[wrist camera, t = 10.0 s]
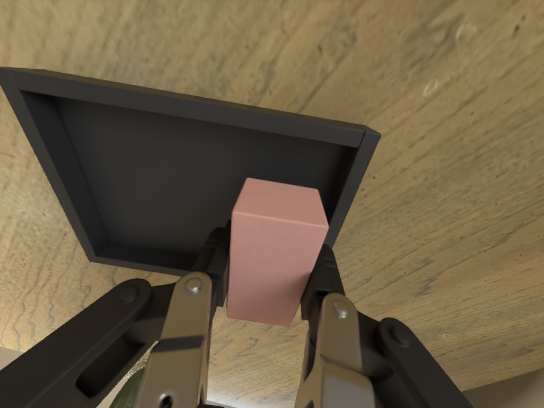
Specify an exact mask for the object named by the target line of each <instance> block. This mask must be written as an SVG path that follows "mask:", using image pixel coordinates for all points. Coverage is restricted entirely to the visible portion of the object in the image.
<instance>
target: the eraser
mask: <svg viewBox="0 0 544 408" xmlns="http://www.w3.org/2000/svg"><path fill="white" fill-rule="evenodd" d="M328 229H329V226H328V222H327V219H326V216H325V212H324V209H323V205H322V202H321V199H320V195H319V192H318V190H317V189H313V188H307V187H301V186H295V185H289V184H283V183H277V182H271V181H265V180H259V179H253V178H247V179H246V181H245V183H244V185H243V188H242V190H241V192H240V195H239V197H238V199H237V201H236V204H235V206H234V208H233V211H232V219H231V239H230V248H229V256H230V259H229V279H228V291H227V305H226V308H227V317H228V318H234V319H241V320H248V321H254V322H261V323H268V324H274V325H281V326H288V327H290V326H291V323H292V321H293V318H294V317H295V314H296V311H297V309H298V306H299V304H300V300H301V298H302V295H303V293H304V290H305V287H306V285H307V282H308V280H309V277H310V275H311V272H312V270H313V268H314V266H315V263H316V259H317V257H318V254H319V252H320V249H321V247H322V244H323V242H324V239H325V237H326V234H327V231H328Z"/></svg>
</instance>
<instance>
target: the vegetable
mask: <svg viewBox="0 0 544 408" xmlns="http://www.w3.org/2000/svg"><path fill="white" fill-rule="evenodd" d="M145 367H146V366H145ZM145 367H143V368H142V369H140V370H138V371H137V372H136V373H134V374H133V375H132V376H131V377H130V378H129V379H128V381H127V382H126V383H125V384H124V386H123V387H122V389H121V390H120V391H119V393H118V394H117V395H116V397H115V399H114V400H113V402H112V404H111V405H110V407H109V408H133V406H134V403H135V399H136V396H137V393H138V390H139V386H140V383H141V380H142V376H143V373H144V370H145Z"/></svg>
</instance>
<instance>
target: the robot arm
mask: <svg viewBox="0 0 544 408" xmlns="http://www.w3.org/2000/svg"><path fill="white" fill-rule="evenodd" d="M230 239H231V219H229V220H228V222H227V224H226V226H225V228H223V227H216V228H215V229H214V230H213V231H211V232H210V234H209V236H208V238H207V241H206V242H205V244H204V247H203V248H202V250H201V252H200V253H199V255H198V257H197V259H196V261H195V263H194V265H193V267H192V269H191V271H190V272H189V273H188V274H186V275H184V276H182V277H181V278H180V279H179V280H178V281H177V282H175V283H172V284H166V285H159V286H152V287H151V285H150V283H149V282H148V281H147V280H145V279H140V278H136V279H130V280H127V281H124V282H122V283H120V284H119V285H117V286H116V287H114V288H113V289H111V290H110V291H109V292H107V293H106V294H105V295H103V296H102V297H100V298H99V299H98V300H96V301H95V302H94V303H92V304H91V305H89V306H88V307H87V308H85V309H84V310H83V311H81V312H80V313H79V314H77V315H76V316H74V317H73V318H72V319H70V320H69V321H68V322H66V323H65V324H63V325H62V326H61V327H59V328H58V329H57V330H55V331H54V332H52V333H51V334H50V335H48V336H47V337H46V338H44V339H43V340H41V341H40V342H39V343H37V344H36V345H35V346H33V347H32V348H31V349H29V350H28V351H26V352H25V353H24V354H22V355H21V356H20V357H18V358H17V359H15V360H14V361H13V362H11V363H10V364H9V365H7V366H6V367H5V368H3V369H2V370H0V408H96V407H97V406H98V405H99V404H100V403H101V402H102V400H103V399H104V398H105V397H106V396H107V395H108V394H109V393H110V391H111V390H112V389H113V388H114V387H115V386H116V385H117V384H118V382H119V381H120V380H121V379H122V378H123V377H124V376H125V375H126V374H127V372H128V371H129V370H130V369H131V368H132V367H133V366H134V365H135V364H136V362H137V361H138V360H139V359H140V358H141V357H142V356H143V355H144V353H145V352H146V351H147V350H148V349H149V348H150V347H151V346H152V345H153V343H154V342H155V341H159V342H158V343H157V345H155V346H154V347H153V348H152V350H151V352H150V355H149V357H148V360H147V363H146V367H145V370H144V373H143V376H142V380H141V383H140V386H139V390H138V393H137V396H136V399H135V403H134V406H133V408H224V407H221V406H214V405H207V404H206V400H207V386H208V368H209V356H210V345H211V334H212V323H213V318H214V314H215V311H216V308H217V306H219V307H223V304H224V301H225V298H226V294H227V291H228V279H229V259H230V256H229V248H230ZM300 301H301V317H302V319H303V320H308V322H309V330H308V332H307V335H306V343H305V350H304V358H303V365H302V373H301V380H300V385H299V389H298V393H297V396H296V401H295V406H294V408H473V406H472V405H471V404H470V403H469V402H468V400H467V399H466V398H465V396H464V395H463V394H462V393H461V392H460V390H459V389H458V388H457V387H456V385H455V384H454V383H453V382H452V380H451V379H450V378H449V377H448V375H447V374H446V373H445V372H444V370H443V369H442V368H441V367H440V365H439V364H438V363H437V362H436V360H435V359H434V358H433V357H432V356H431V354H430V353H429V352H428V351H427V349H426V348H425V347H424V346H423V344H422V343H421V342H420V341H419V339H418V338H417V337H416V336H415V334H414V333H413V332H412V331H411V330H410V329H409V328H408V327H407V326H406V325H405V324H404V323H402V322H401V321H399V320H397V319H394V318H389V317H388V318H384V319H382V320H381V322H379V321H377V320H375V319H372V318H370V317H368V316H366V315H364V314H362V313H360V312H359V311H357V310H356V308H355V306H354V304H353V303H352V302H351V301H350V300H349V299H348V298H347V297H346V295H345V292H344V289H343V285H342V281H341V278H340V274H339V271H338V268H337V263H336V262H335V256H334V252H333V251H332V249H331V248H330V247H329V245H328V244H322V247H321V249H320V252H319V254H318V257H317V259H316V263H315V266H314V268H313V270H312V272H311V275H310V277H309V280H308V282H307V285H306V287H305V290H304V293H303V295H302V298H301V300H300Z"/></svg>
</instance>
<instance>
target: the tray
mask: <svg viewBox="0 0 544 408" xmlns="http://www.w3.org/2000/svg"><path fill="white" fill-rule="evenodd" d="M0 85H1V87H2V89H3V91H4V93H5V95H6V97H7V99H8V101H9V103H10V105H11V107H12V109H13V111H14V113H15V115H16V117H17V119H18V121H19V123H20V125H21V127H22V129H23V131H24V133H25V135H26V137H27V139H28V141H29V143H30V145H31V147H32V148H33V150H34V152H35V154H36V156H37V158H38V160H39V162H40V164H41V166H42V168H43V170H44V172H45V174H46V176H47V178H48V180H49V182H50V184H51V186H52V188H53V190H54V192H55V194H56V196H57V198H58V200H59V202H60V204H61V206H62V208H63V210H64V212H65V214H66V216H67V218H68V220H69V222H70V224H71V226H72V228H73V230H74V232H75V234H76V236H77V238H78V240H79V242H80V244H81V246H82V248H83V250H84V252H85V254H86V256H87V258H88V260H89V261H90V262H94V263H100V264H106V265H113V266H119V267H125V268H132V269H138V270H145V271H151V272H157V273H164V274H170V275H176V276H184V275H186V274H188V273H189V272H190V271H191V269H192V267H193V265H194V263H195V261H196V259H197V257H198V255H199V253H200V252H201V250H202V248H203V247H204V244H205V242H206V241H207V238H208V236H209V234H210V232H211V231H213V230H214V229H215V228H216V227H223V228H225V226H226V224H227V222H228V220H229V219H232V211H233V208H234V206H235V204H236V201H237V199H238V197H239V195H240V192H241V190H242V188H243V185H244V183H245V181H246V179H247V178H253V179H259V180H265V181H271V182H277V183H283V184H289V185H295V186H301V187H307V188H313V189H317V190H318V192H319V195H320V199H321V202H322V205H323V209H324V212H325V216H326V219H327V222H328V226H329V229H328V231H327V234H326V237H325V239H324V242H323V244H328V245H329V247H330V248H331V249H332V248H333V245H334V243H335V241H336V239H337V236H338V234H339V232H340V229H341V227H342V225H343V222H344V220H345V218H346V215H347V213H348V211H349V208H350V206H351V204H352V202H353V199H354V197H355V195H356V192H357V190H358V188H359V185H360V183H361V181H362V178H363V176H364V174H365V171H366V169H367V167H368V164H369V162H370V160H371V158H372V155H373V153H374V151H375V148H376V146H377V144H378V141H379V139H380V137H381V134H380V133H378V132H377V131H375V130H373V129H371V128H369V127H367V126H364V125H358V124H353V123H347V122H341V121H335V120H330V119H324V118H318V117H312V116H307V115H301V114H295V113H290V112H284V111H278V110H272V109H267V108H261V107H255V106H249V105H244V104H238V103H232V102H226V101H221V100H215V99H209V98H203V97H198V96H192V95H186V94H180V93H175V92H169V91H163V90H157V89H152V88H146V87H140V86H134V85H129V84H123V83H117V82H111V81H106V80H100V79H94V78H88V77H83V76H77V75H71V74H65V73H60V72H54V71H48V70H43V69H29V68H13V67H0Z"/></svg>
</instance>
